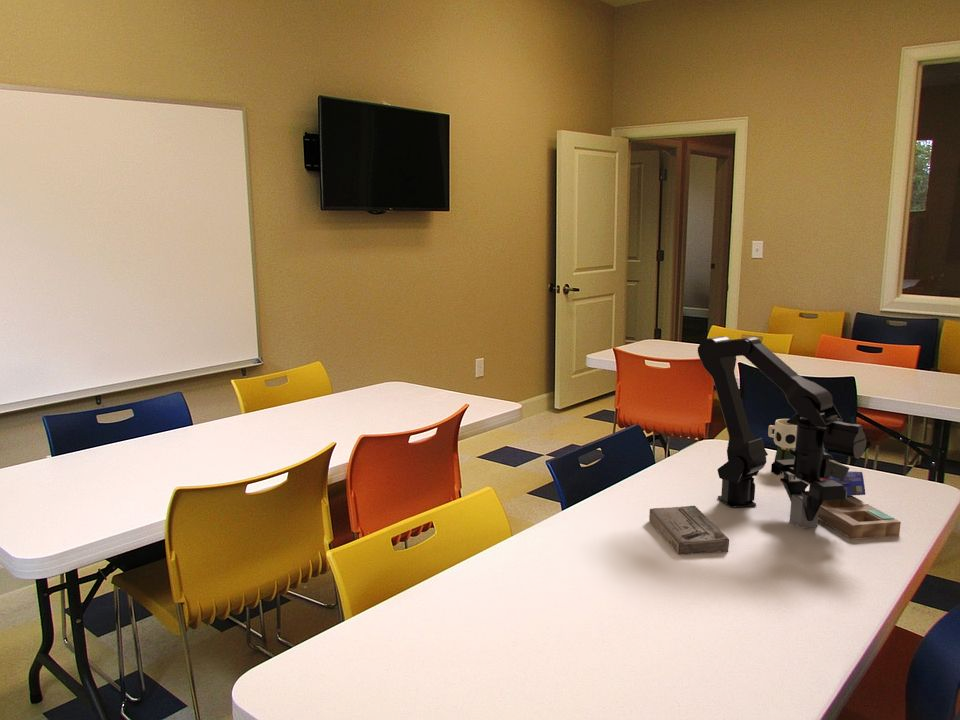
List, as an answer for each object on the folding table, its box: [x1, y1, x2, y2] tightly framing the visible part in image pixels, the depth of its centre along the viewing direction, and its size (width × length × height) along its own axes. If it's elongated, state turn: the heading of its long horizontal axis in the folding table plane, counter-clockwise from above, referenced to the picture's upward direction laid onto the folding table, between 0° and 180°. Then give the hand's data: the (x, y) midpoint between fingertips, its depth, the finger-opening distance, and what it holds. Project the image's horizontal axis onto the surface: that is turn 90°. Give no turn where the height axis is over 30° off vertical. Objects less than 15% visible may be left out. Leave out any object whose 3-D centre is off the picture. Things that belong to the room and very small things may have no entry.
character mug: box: [767, 418, 797, 462], centre depth 195 cm, size 11×7×13 cm, turn 45°
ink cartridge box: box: [820, 470, 866, 496], centre depth 169 cm, size 10×6×14 cm
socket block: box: [818, 495, 902, 540], centre depth 160 cm, size 11×16×3 cm
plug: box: [789, 494, 819, 529], centre depth 159 cm, size 4×4×6 cm
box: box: [648, 505, 730, 556], centre depth 153 cm, size 11×17×3 cm, turn 7°
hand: (804, 516), depth 160 cm, fingers closed on plug, 4 cm apart
